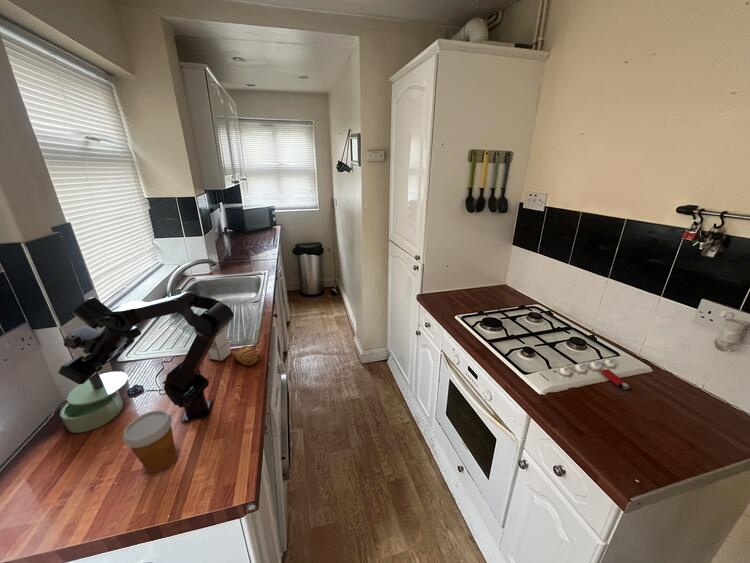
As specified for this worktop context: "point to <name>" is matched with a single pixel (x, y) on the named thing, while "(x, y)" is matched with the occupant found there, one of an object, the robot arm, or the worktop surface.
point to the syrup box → (219, 347)
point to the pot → (91, 413)
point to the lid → (97, 388)
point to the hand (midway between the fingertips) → (87, 372)
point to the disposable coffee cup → (152, 440)
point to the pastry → (247, 355)
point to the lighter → (615, 379)
